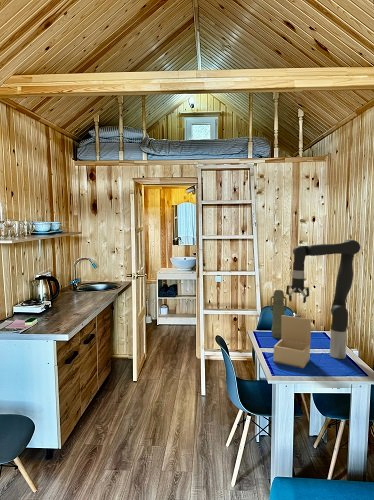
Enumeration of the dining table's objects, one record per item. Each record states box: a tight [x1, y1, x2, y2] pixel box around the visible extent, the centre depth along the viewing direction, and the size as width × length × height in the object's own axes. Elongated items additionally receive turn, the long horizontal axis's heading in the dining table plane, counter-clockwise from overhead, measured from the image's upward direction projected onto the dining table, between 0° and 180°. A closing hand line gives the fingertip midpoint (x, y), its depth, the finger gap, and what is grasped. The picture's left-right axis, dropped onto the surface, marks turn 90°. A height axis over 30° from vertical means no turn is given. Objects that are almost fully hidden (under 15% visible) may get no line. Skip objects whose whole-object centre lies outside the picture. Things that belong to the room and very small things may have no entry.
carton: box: [273, 338, 311, 369], centre depth 225 cm, size 18×16×10 cm
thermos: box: [269, 289, 288, 339], centre depth 273 cm, size 9×12×35 cm
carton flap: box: [280, 314, 312, 345], centre depth 234 cm, size 18×16×7 cm
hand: (297, 302), depth 236 cm, fingers open, 8 cm apart
